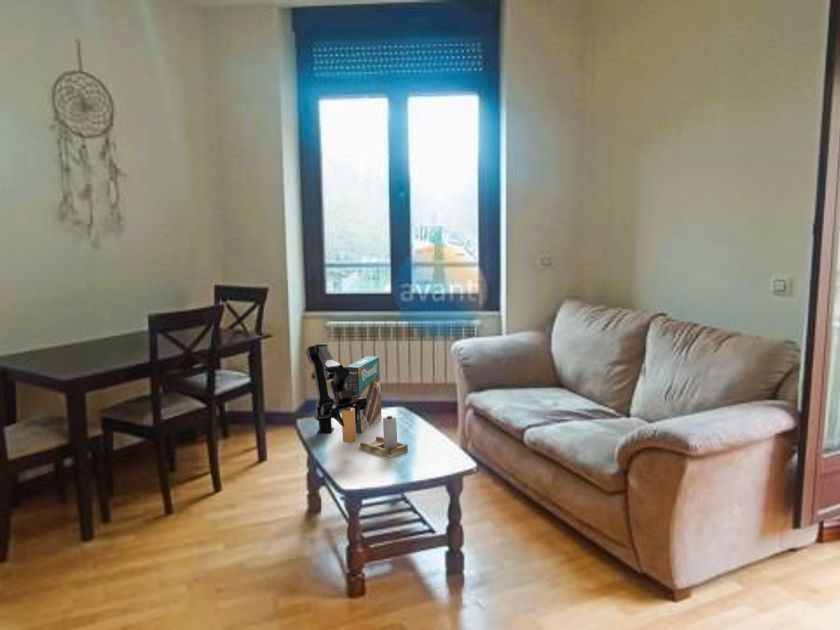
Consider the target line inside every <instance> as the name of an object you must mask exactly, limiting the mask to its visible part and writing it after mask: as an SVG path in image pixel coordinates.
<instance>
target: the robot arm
mask: <svg viewBox="0 0 840 630" xmlns="http://www.w3.org/2000/svg"><path fill="white" fill-rule="evenodd" d="M305 354H306V357H307V359H308V360H307V361H308V362H309V363H310V364H311V365H312V367H313V368H312V369H313V374H314V380H315V386H316V392H317V397H318V398H317V400H316V402H315V409H314V411H313V418H314V420H316V421H317V422H318V430H317V431H316V433H317V434H332V432H333V431H334V430H335V428H334V427H333V426H332V422H333V421H332V419H334V420H336V421H337V423H338V424H339V425H340V426H341V427H342V426H344V424H343V421H342V414H341V413H340V410H342V409H344V408H346V407H350V408H351V407H352V408H354V409H355V423H356V424H357V420H358V412H359V410H363V409H365V408H366V406H367V403H368V401H367V399H366V398H365V397H363V398H357V400H356V402H352V403H350V401H351V400H352V397H353V396H354V395H356V394H357V392H356V389H355V387H352V388H350V390H347V386H346V385H347V380H348V377H349V370H348V369H347V368H346V366H345V367H344V366H343V364H341V363H339V362H338V361H335V360H334V358H333V356H332V354H331V353H330V350H329V349H328V345H327V343H325V342H323V343H316V344H314V345H309V346H308V347H307V348H306V350H305ZM327 380H328V381H330V380H331V381H330V383H329V386H330V389H331V393H332V395H333V398H331V396H329V391H328V383H327Z"/></svg>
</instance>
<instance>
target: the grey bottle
mask: <svg viewBox="0 0 840 630" xmlns="http://www.w3.org/2000/svg"><path fill="white" fill-rule="evenodd" d="M382 427H383V428H382V429H383V438H384V449H386V450H392V449H395V448H397V442H398V430H397V428H398V427H397V417H396V416H392V415H386V416H384V417H383V418H382Z"/></svg>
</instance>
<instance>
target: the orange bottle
mask: <svg viewBox="0 0 840 630" xmlns="http://www.w3.org/2000/svg"><path fill="white" fill-rule="evenodd" d="M340 412H341V413H340V415H341V418H342V421H343V424H344V426H341V428H342V429H341V431H342V442H343V443H344V444H352V443H356V442H357V433H356V423H355V409H354V408H350V407H346V408H344V409H340Z"/></svg>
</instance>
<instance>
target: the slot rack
mask: <svg viewBox="0 0 840 630" xmlns="http://www.w3.org/2000/svg"><path fill="white" fill-rule="evenodd" d="M408 447H409V446H408V444H407V443H403V442H399V441H397V448H395V449H392V450H386V449H384V436H383V437H382V436H379V435H376V436H375V439H373V440H372V441H369V442H364V441H359V449H363V450H366V451H368V452H372V453H374V454H378V455H381V456H384V457H388V458H390V459H391V458H393V457H395V456H398V455H401V454H403V453H405V452H408V450H409V448H408Z"/></svg>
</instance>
